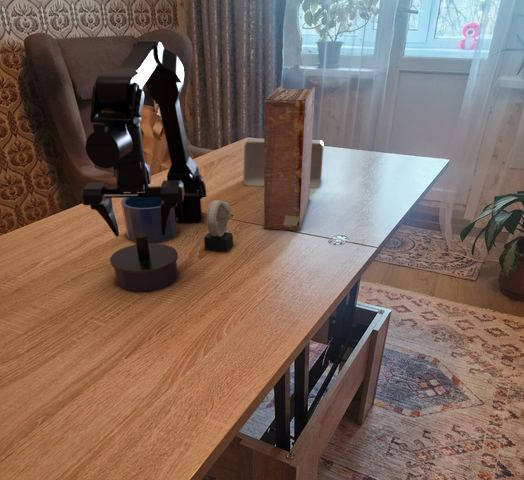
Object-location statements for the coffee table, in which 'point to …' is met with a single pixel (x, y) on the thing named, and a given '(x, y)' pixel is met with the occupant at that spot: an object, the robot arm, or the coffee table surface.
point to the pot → (147, 219)
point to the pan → (147, 279)
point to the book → (287, 156)
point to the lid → (143, 256)
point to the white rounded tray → (255, 162)
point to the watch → (218, 227)
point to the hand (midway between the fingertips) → (140, 235)
